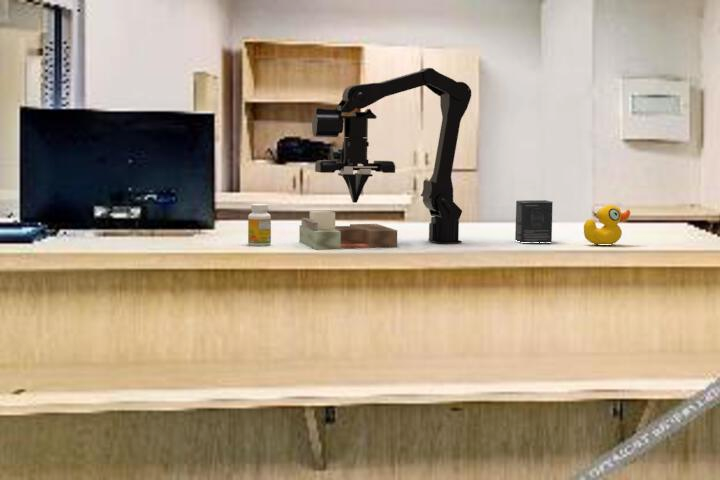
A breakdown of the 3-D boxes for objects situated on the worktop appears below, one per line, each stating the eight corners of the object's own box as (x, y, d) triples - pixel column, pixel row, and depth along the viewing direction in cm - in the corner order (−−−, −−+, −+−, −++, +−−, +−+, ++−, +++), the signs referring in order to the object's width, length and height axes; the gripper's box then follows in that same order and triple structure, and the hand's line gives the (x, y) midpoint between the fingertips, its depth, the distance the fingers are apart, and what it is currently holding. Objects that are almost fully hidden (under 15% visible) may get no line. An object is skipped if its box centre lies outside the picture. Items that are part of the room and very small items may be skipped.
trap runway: (376, 239, 238) (376, 215, 237) (397, 247, 223) (397, 222, 222) (299, 241, 232) (299, 217, 231) (315, 249, 217) (315, 223, 216)
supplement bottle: (244, 244, 225) (244, 203, 224) (265, 243, 227) (265, 203, 226) (253, 246, 220) (253, 205, 219) (274, 245, 223) (274, 204, 222)
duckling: (624, 244, 234) (626, 204, 233) (632, 246, 229) (634, 206, 228) (580, 244, 233) (581, 204, 232) (587, 246, 228) (588, 205, 227)
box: (544, 241, 239) (545, 199, 237) (551, 244, 233) (553, 201, 232) (514, 241, 237) (515, 199, 236) (521, 244, 232) (523, 201, 231)
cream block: (329, 227, 228) (329, 210, 227) (335, 229, 223) (335, 212, 223) (309, 227, 226) (309, 210, 226) (314, 229, 222) (314, 212, 221)
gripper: (382, 137, 235) (380, 199, 237) (309, 136, 230) (309, 200, 231) (396, 138, 224) (395, 203, 226) (321, 137, 219) (320, 203, 221)
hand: (354, 202), depth 226 cm, fingers closed
